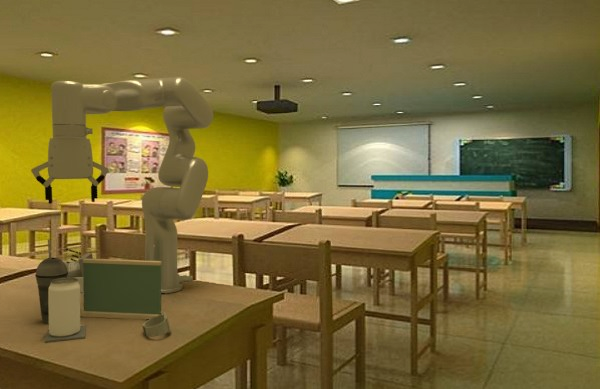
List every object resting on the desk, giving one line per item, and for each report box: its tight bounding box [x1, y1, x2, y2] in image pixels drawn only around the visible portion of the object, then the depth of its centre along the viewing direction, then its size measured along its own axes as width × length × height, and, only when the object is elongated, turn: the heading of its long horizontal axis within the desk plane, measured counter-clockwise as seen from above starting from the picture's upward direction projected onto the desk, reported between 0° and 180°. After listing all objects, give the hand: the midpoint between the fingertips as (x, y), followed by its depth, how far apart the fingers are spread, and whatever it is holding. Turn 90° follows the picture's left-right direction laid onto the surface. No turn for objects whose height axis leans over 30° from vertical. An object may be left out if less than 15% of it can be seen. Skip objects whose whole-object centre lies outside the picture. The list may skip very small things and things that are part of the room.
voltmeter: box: [65, 247, 94, 278], centre depth 161 cm, size 27×11×10 cm, turn 46°
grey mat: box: [44, 325, 87, 343], centre depth 114 cm, size 8×8×1 cm
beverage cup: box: [35, 238, 68, 324], centre depth 123 cm, size 7×7×20 cm
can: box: [48, 278, 81, 337], centre depth 113 cm, size 6×6×12 cm
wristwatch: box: [142, 311, 172, 338], centre depth 116 cm, size 9×6×5 cm
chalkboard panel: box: [80, 258, 164, 320], centre depth 128 cm, size 20×4×14 cm, turn 85°
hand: (72, 202), depth 125 cm, fingers open, 9 cm apart
